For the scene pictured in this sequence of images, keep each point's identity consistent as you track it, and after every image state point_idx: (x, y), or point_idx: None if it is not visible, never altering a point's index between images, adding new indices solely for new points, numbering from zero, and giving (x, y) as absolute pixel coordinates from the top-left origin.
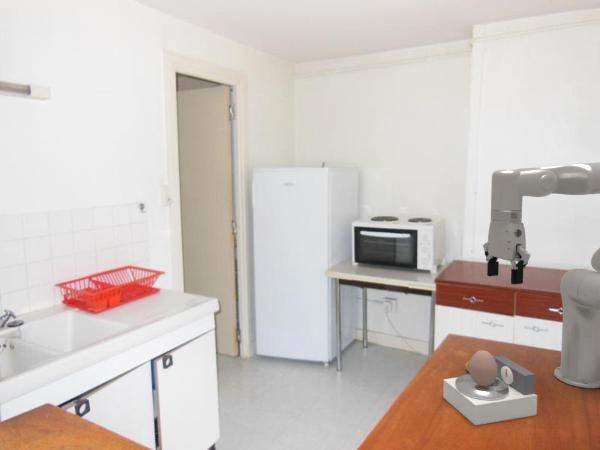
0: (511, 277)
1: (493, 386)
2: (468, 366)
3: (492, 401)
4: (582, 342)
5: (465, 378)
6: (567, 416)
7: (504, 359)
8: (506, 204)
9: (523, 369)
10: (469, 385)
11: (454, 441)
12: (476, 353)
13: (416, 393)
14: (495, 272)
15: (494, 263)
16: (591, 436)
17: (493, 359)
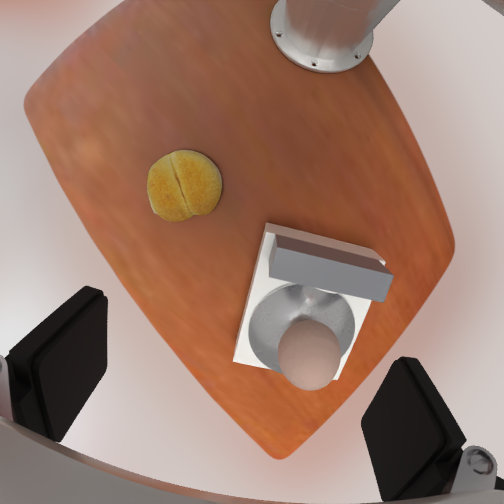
0: (375, 456)
1: (320, 319)
2: (168, 220)
3: (347, 350)
4: (376, 21)
5: (262, 338)
6: (404, 204)
7: (299, 266)
8: None
9: (364, 276)
10: None
11: (337, 401)
12: (302, 388)
13: (202, 365)
14: (95, 336)
15: (51, 399)
16: (449, 232)
17: (335, 362)
